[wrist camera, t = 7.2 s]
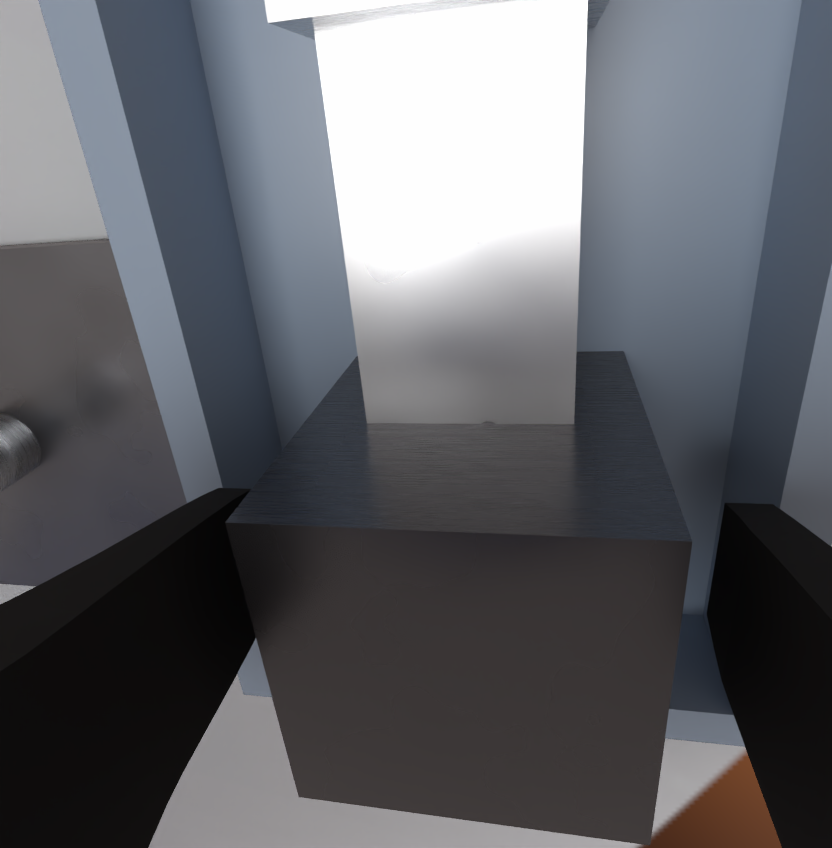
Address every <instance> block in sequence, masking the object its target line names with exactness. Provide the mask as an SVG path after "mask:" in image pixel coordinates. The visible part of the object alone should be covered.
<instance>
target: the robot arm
mask: <svg viewBox="0 0 832 848" xmlns="http://www.w3.org/2000/svg"><path fill="white" fill-rule="evenodd" d="M250 490H251V489H241V488H217V489H215V490H213V491H210V492H208V493H206V494H204V495H202V496H200V497H198V498H196V499H194V500H192V501H190V502H188V503H187V504H185V505H183V506H181V507H179V508H177V509H176V510H174V511H172V512H170V513H169V514H167V515H165V516H163V517H161V518H160V519H158V520H156V521H154V522H153V523H151V524H149V525H147V526H146V527H144V528H142V529H140V530H139V531H137V532H135V533H133V534H132V535H130V536H128V537H126V538H125V539H123V540H121V541H119V542H118V543H116V544H114V545H112V546H111V547H109V548H107V549H105V550H103V551H102V552H100V553H98V554H96V555H95V556H93V557H91V558H89V559H87V560H85V561H83V562H81V563H80V564H78V565H76V566H74V567H72V568H70V569H68V570H66V571H64V572H63V573H61V574H59V575H57V576H55V577H53V578H51V579H49V580H48V581H46V582H44V583H42V584H40V585H38V586H36V587H34V588H33V589H31V590H29V591H27V592H25V593H23V594H21V595H19V596H17V597H15V598H13V599H11V600H9V601H7V602H5V603H3V604H1V605H0V848H148V847H149V844H150V842H151V840H152V838H153V835H154V833H155V831H156V828H157V826H158V824H159V821H160V819H161V817H162V815H163V812H164V810H165V808H166V805H167V803H168V801H169V799H170V797H171V795H172V793H173V791H174V789H175V787H176V785H177V783H178V781H179V779H180V777H181V775H182V773H183V771H184V769H185V768H186V766H187V764H188V762H189V760H190V759H191V757H192V755H193V753H194V751H195V749H196V748H197V746H198V744H199V742H200V740H201V739H202V737H203V735H204V733H205V731H206V729H207V728H208V726H209V724H210V722H211V720H212V719H213V717H214V715H215V713H216V711H217V710H218V708H219V706H220V704H221V702H222V700H223V699H224V697H225V695H226V693H227V691H228V690H229V688H230V686H231V684H232V682H233V680H234V679H235V677H236V675H237V673H238V671H239V669H240V667H241V666H242V664H243V662H244V660H245V658H246V656H247V654H248V652H249V651H250V649H251V647H252V645H253V643H254V641H255V638H256V636H255V632H254V628H253V624H252V621H251V617H250V613H249V610H248V606H247V602H246V598H245V595H244V591H243V587H242V584H241V580H240V576H239V572H238V569H237V565H236V561H235V557H234V554H233V550H232V546H231V543H230V539H229V535H228V531H227V528H226V524H225V522H226V521H227V519H228V518H229V517H230V516H231V514H232V513H233V512H234V511H235V509H236V508H237V507H238V506H239V504H240V503H241V502H242V500H243V499H244V498H245V497H246V495H247V494H248V493H249V492H250ZM707 618H708V623H709V628H710V632H711V637H712V642H713V647H714V651H715V655H716V659H717V664H718V668H719V672H720V676H721V680H722V683H723V686H724V689H725V692H726V695H727V698H728V701H729V703H730V706H731V709H732V712H733V714H734V717H735V720H736V723H737V726H738V728H739V731H740V734H741V737H742V739H743V742H744V745H745V748H746V750H747V753H748V756H749V758H750V761H751V764H752V767H753V769H754V772H755V775H756V778H757V780H758V783H759V786H760V788H761V791H762V794H763V797H764V799H765V802H766V805H767V808H768V810H769V813H770V816H771V818H772V821H773V824H774V827H775V829H776V832H777V835H778V838H779V840H780V843H781V846H782V848H832V547H831V546H830V545H828V544H827V543H826V542H824V541H823V540H822V539H820V538H819V537H818V536H816V535H815V534H814V533H812V532H811V531H810V530H808V529H807V528H806V527H804V526H803V525H802V524H800V523H799V522H798V521H796V520H795V519H794V518H792V517H791V516H789V515H788V514H787V513H785V512H784V511H782V510H781V509H779V508H778V507H776V506H775V505H773V504H753V503H725V504H724V510H723V516H722V523H721V529H720V535H719V541H718V547H717V553H716V559H715V565H714V571H713V577H712V583H711V590H710V596H709V602H708V608H707Z"/></svg>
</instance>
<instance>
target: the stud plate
mask: <svg viewBox="0 0 832 848" xmlns="http://www.w3.org/2000/svg"><path fill="white" fill-rule="evenodd" d="M185 504H187V501H186V498H185V494H184V491H183V487H182V484H181V481H180V477H179V474H178V471H177V467H176V464H175V460H174V457H173V454H172V450H171V447H170V443H169V440H168V437H167V433H166V430H165V427H164V423H163V420H162V416H161V413H160V410H159V406H158V403H157V400H156V396H155V393H154V389H153V386H152V383H151V379H150V376H149V373H148V369H147V366H146V362H145V359H144V356H143V352H142V349H141V346H140V342H139V339H138V335H137V332H136V329H135V325H134V322H133V318H132V315H131V312H130V308H129V305H128V302H127V298H126V295H125V291H124V288H123V285H122V281H121V278H120V275H119V271H118V268H117V264H116V261H115V258H114V254H113V251H112V248H111V244H110V241H109V239H101V240H85V241H70V242H54V243H39V244H23V245H8V246H0V584H13V585H27V586H38V585H40V584H42V583H44V582H46V581H48V580H49V579H51V578H53V577H55V576H57V575H59V574H61V573H63V572H64V571H66V570H68V569H70V568H72V567H74V566H76V565H78V564H80V563H81V562H83V561H85V560H87V559H89V558H91V557H93V556H95V555H96V554H98V553H100V552H102V551H103V550H105V549H107V548H109V547H111V546H112V545H114V544H116V543H118V542H119V541H121V540H123V539H125V538H126V537H128V536H130V535H132V534H133V533H135V532H137V531H139V530H140V529H142V528H144V527H146V526H147V525H149V524H151V523H153V522H154V521H156V520H158V519H160V518H161V517H163V516H165V515H167V514H169V513H170V512H172V511H174V510H176V509H177V508H179V507H181V506H183V505H185Z"/></svg>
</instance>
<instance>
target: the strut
mask: <svg viewBox="0 0 832 848" xmlns="http://www.w3.org/2000/svg"><path fill="white" fill-rule="evenodd" d="M264 1H265V7H266V14H267V20H268V23H270V24H272V25H275V26H278V27H281V28H283V29H286V30H289V31H291V32H294V33H297V34H300V35H302V36H305V37H308V38H311V39H313V40H316V48H317V55H318V63H319V70H320V78H321V85H322V93H323V100H324V107H325V115H326V122H327V130H328V137H329V145H330V152H331V160H332V167H333V175H334V182H335V189H336V197H337V204H338V212H339V219H340V227H341V234H342V242H343V249H344V257H345V264H346V271H347V279H348V286H349V294H350V301H351V309H352V316H353V324H354V331H355V339H356V346H357V354H358V356H356V358H355V359H354V360H353V361H352V363H351V364H350V365H349V367H348V368H347V369H346V370H345V372H344V373H343V374H342V375H341V377H340V378H339V379H338V380H337V382H336V383H335V384H334V385H333V387H332V388H331V389H330V391H329V392H328V393H327V394H326V396H325V397H324V398H323V399H322V401H321V402H320V403H319V404H318V406H317V407H316V408H315V409H314V411H313V412H312V413H311V415H310V416H309V417H308V418H307V420H306V421H305V422H304V423H303V425H302V426H301V427H300V428H299V430H298V431H297V432H296V433H295V435H294V436H293V437H292V439H291V440H290V441H289V442H288V444H287V445H286V446H285V447H284V449H283V450H282V451H281V452H280V454H279V455H278V456H277V458H276V459H275V460H274V461H273V463H272V464H271V465H270V466H269V468H268V469H267V470H266V471H265V473H264V474H263V475H262V476H261V478H260V479H259V480H258V482H257V483H256V484H255V485H254V487H253V488H252V489H251V490H250V492H249V493H248V494H247V495H246V497H245V498H244V499H243V500H242V502H241V503H240V504H239V506H238V507H237V508H236V509H235V511H234V512H233V513H232V514H231V516H230V517H229V518H228V519H227V521H226V522H225V524H226V528H227V531H228V535H229V539H230V543H231V546H232V550H233V554H234V557H235V561H236V565H237V569H238V572H239V576H240V580H241V584H242V587H243V591H244V595H245V598H246V602H247V606H248V610H249V613H250V617H251V621H252V624H253V628H254V632H255V636H256V639H257V643H258V647H259V650H260V654H261V658H262V662H263V665H264V669H265V673H266V676H267V680H268V684H269V688H270V691H271V695H272V699H273V702H274V706H275V710H276V714H277V717H278V721H279V725H280V728H281V732H282V736H283V740H284V743H285V747H286V751H287V754H288V758H289V762H290V766H291V769H292V773H293V777H294V780H295V784H296V788H297V792H298V795H299V797H304V798H311V799H318V800H325V801H333V802H340V803H347V804H354V805H362V806H369V807H376V808H383V809H390V810H398V811H405V812H412V813H419V814H427V815H434V816H441V817H448V818H456V819H463V820H470V821H477V822H485V823H492V824H499V825H506V826H514V827H521V828H528V829H535V830H543V831H550V832H557V833H564V834H572V835H579V836H586V837H593V838H601V839H608V840H615V841H622V842H630V843H637V844H644V845H650V842H651V835H652V827H653V820H654V813H655V806H656V799H657V792H658V785H659V777H660V770H661V763H662V756H663V749H664V742H665V735H666V727H667V720H668V713H669V706H670V699H671V692H672V685H673V677H674V670H675V663H676V656H677V649H678V642H679V635H680V627H681V620H682V613H683V606H684V599H685V592H686V585H687V577H688V570H689V563H690V556H691V549H692V539H691V536H690V533H689V531H688V528H687V525H686V522H685V519H684V517H683V514H682V511H681V508H680V506H679V503H678V500H677V497H676V495H675V492H674V489H673V486H672V483H671V481H670V478H669V475H668V472H667V470H666V467H665V464H664V461H663V459H662V456H661V453H660V450H659V447H658V445H657V442H656V439H655V436H654V434H653V431H652V428H651V425H650V423H649V420H648V417H647V414H646V412H645V409H644V406H643V403H642V400H641V398H640V395H639V392H638V389H637V387H636V384H635V381H634V378H633V376H632V373H631V370H630V367H629V364H628V362H627V359H626V356H625V353H624V351H591V352H577V322H578V290H579V259H580V228H581V197H582V166H583V134H584V103H585V72H586V41H587V28H590V27H596V25H597V23H598V21H599V19H600V18H601V16H602V14H603V12H604V11H605V9H606V7H607V5H608V3H609V2H610V0H264Z"/></svg>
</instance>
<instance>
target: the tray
mask: <svg viewBox="0 0 832 848" xmlns="http://www.w3.org/2000/svg"><path fill="white" fill-rule="evenodd" d="M38 1H39V4H40V8H41V11H42V14H43V18H44V21H45V25H46V28H47V31H48V35H49V38H50V41H51V45H52V48H53V52H54V55H55V58H56V62H57V65H58V68H59V72H60V75H61V79H62V82H63V85H64V89H65V92H66V95H67V99H68V102H69V106H70V109H71V112H72V116H73V119H74V122H75V126H76V129H77V133H78V136H79V139H80V143H81V146H82V150H83V153H84V156H85V160H86V163H87V166H88V170H89V173H90V177H91V180H92V183H93V187H94V190H95V193H96V197H97V200H98V204H99V207H100V210H101V214H102V217H103V220H104V224H105V227H106V231H107V234H108V237H109V241H110V244H111V248H112V251H113V254H114V258H115V261H116V264H117V268H118V271H119V275H120V278H121V281H122V285H123V288H124V291H125V295H126V298H127V302H128V305H129V308H130V312H131V315H132V318H133V322H134V325H135V329H136V332H137V335H138V339H139V342H140V346H141V349H142V352H143V356H144V359H145V362H146V366H147V369H148V373H149V376H150V379H151V383H152V386H153V389H154V393H155V396H156V400H157V403H158V406H159V410H160V413H161V416H162V420H163V423H164V427H165V430H166V433H167V437H168V440H169V443H170V447H171V450H172V454H173V457H174V460H175V464H176V467H177V471H178V474H179V477H180V481H181V484H182V487H183V491H184V494H185V498H186V501H187V503H188V502H190V501H192V500H194V499H196V498H198V497H200V496H202V495H204V494H206V493H208V492H210V491H213V490H215V489H217V488H241V489H252V488H253V487H254V485H255V484H256V483H257V482H258V480H259V479H260V478H261V476H262V475H263V474H264V473H265V471H266V470H267V469H268V468H269V466H270V465H271V464H272V463H273V461H274V460H275V459H276V458H277V456H278V455H279V454H280V452H281V451H282V450H283V449H284V447H285V446H286V445H287V444H288V442H289V441H290V440H291V439H292V437H293V436H294V435H295V433H296V432H297V431H298V430H299V428H300V427H301V426H302V425H303V423H304V422H305V421H306V420H307V418H308V417H309V416H310V415H311V413H312V412H313V411H314V409H315V408H316V407H317V406H318V404H319V403H320V402H321V401H322V399H323V398H324V397H325V396H326V394H327V393H328V392H329V391H330V389H331V388H332V387H333V385H334V384H335V383H336V382H337V380H338V379H339V378H340V377H341V375H342V374H343V373H344V372H345V370H346V369H347V368H348V367H349V365H350V364H351V363H352V361H353V360H354V359H355V358H356V356H358V354H357V346H356V339H355V331H354V324H353V316H352V309H351V301H350V294H349V286H348V279H347V271H346V264H345V257H344V249H343V242H342V234H341V227H340V219H339V212H338V204H337V197H336V189H335V182H334V175H333V167H332V160H331V152H330V145H329V137H328V130H327V122H326V115H325V107H324V100H323V93H322V85H321V78H320V70H319V63H318V55H317V48H316V40H313V39H311V38H308V37H305V36H302V35H300V34H297V33H294V32H291V31H289V30H286V29H283V28H281V27H278V26H275V25H272V24H270V23H268V20H267V14H266V7H265V1H264V0H38ZM591 351H624V353H625V356H626V359H627V362H628V364H629V367H630V370H631V373H632V376H633V378H634V381H635V384H636V387H637V389H638V392H639V395H640V398H641V400H642V403H643V406H644V409H645V412H646V414H647V417H648V420H649V423H650V425H651V428H652V431H653V434H654V436H655V439H656V442H657V445H658V447H659V450H660V453H661V456H662V459H663V461H664V464H665V467H666V470H667V472H668V475H669V478H670V481H671V483H672V486H673V489H674V492H675V495H676V497H677V500H678V503H679V506H680V508H681V511H682V514H683V517H684V519H685V522H686V525H687V528H688V531H689V533H690V536H691V539H692V549H691V556H690V563H689V570H688V577H687V585H686V592H685V599H684V606H683V613H682V620H681V627H680V635H679V642H678V649H677V656H676V663H675V670H674V677H673V685H672V692H671V699H670V706H669V713H668V720H667V727H666V735H665V738H667V739H677V740H687V741H696V742H706V743H715V744H725V745H734V746H744V747H745V745H744V742H743V739H742V737H741V734H740V731H739V728H738V726H737V723H736V720H735V717H734V714H733V712H732V709H731V706H730V703H729V701H728V698H727V695H726V692H725V689H724V686H723V683H722V680H721V676H720V672H719V668H718V664H717V659H716V655H715V651H714V647H713V642H712V637H711V632H710V628H709V623H708V618H707V608H708V602H709V596H710V590H711V583H712V577H713V571H714V565H715V559H716V553H717V547H718V541H719V535H720V529H721V523H722V516H723V510H724V504H725V503H753V504H773V505H775V506H776V507H778V508H779V509H781V510H782V511H784V512H785V513H787V514H788V515H789V516H791V517H792V518H794V519H795V520H796V521H798V522H799V523H800V524H802V525H803V526H804V527H806V528H807V529H808V530H810V531H811V532H812V533H814V534H815V535H816V536H818V537H819V538H820V539H822V540H823V541H824V542H826V543H827V544H828V545H830V546H831V543H832V0H610V2H609V3H608V5H607V7H606V9H605V11H604V12H603V14H602V16H601V18H600V19H599V21H598V23H597V25H596V27H590V28H587V41H586V72H585V103H584V134H583V166H582V197H581V228H580V259H579V290H578V322H577V352H591ZM238 677H239V680H240V683H241V687H242V690H243V694H245V695H255V696H264V697H272V695H271V691H270V688H269V684H268V680H267V676H266V673H265V669H264V665H263V662H262V658H261V654H260V650H259V647H258V643H257V639H256V638H255V641H254V643H253V645H252V647H251V649H250V651H249V652H248V654H247V656H246V658H245V660H244V662H243V664H242V666H241V667H240V669H239V671H238Z"/></svg>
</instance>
